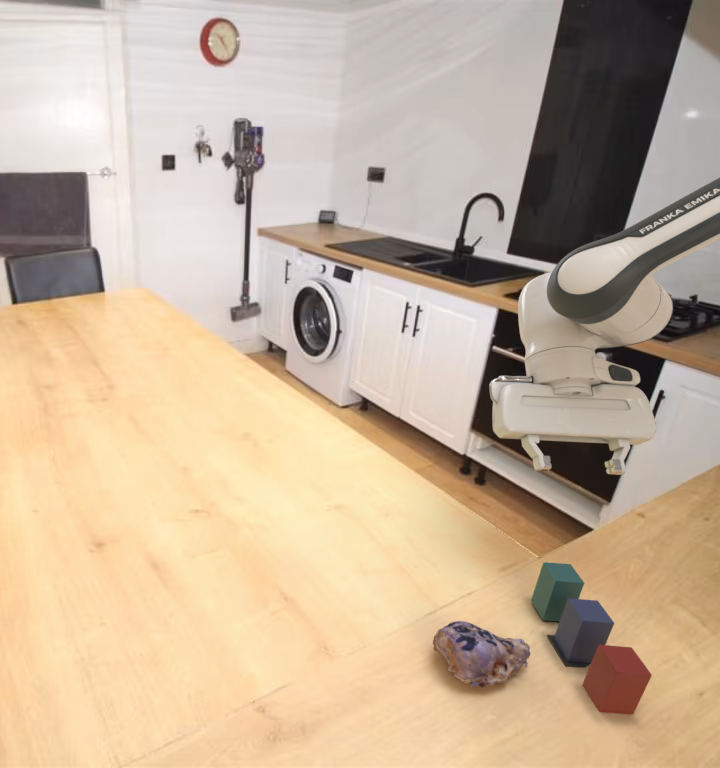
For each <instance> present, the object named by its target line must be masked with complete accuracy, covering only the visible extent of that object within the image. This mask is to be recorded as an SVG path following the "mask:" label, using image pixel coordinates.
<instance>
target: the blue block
mask: <svg viewBox="0 0 720 768" xmlns="http://www.w3.org/2000/svg"><path fill="white" fill-rule="evenodd" d="M614 625H615V622H614V621H613V619H612V617H611V616H610V615H609V614H608V612H607V611H606V610H605V608H604V607H603V605H602V604H601V602H600V601H598V600H597V599H596V600H595V599H581V598H579V599H571V598H568V600H567V603H566V606H565V608H564V611H563V614H562V617H561V619H560V621H558V625H557V628H556V632H555V634H554V635H555V636H554V640H555V641H556V643H557V645H558V647H559V648H560V650H561V652H562V653H563V655H564V657H565V658H566V660H567V662H576V663H588V664H590V665H591V662H592V660H593V657H594V655H595V652H596V650H597V648H598V645H607V642H608V640H609V637H610V635H611V632H612V630H613V628H614Z"/></svg>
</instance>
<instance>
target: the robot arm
mask: <svg viewBox="0 0 720 768" xmlns="http://www.w3.org/2000/svg"><path fill="white" fill-rule="evenodd" d="M718 240H720V177H717V178H716V179H714V180H712V181H710V182H709V183H707V184H705V185H703V186H701V187H699V188H698V189H696V190H694V191H693V192H690V193H689V194H687V195H685V196H683V197H682V198H680V199H678V200H676V201H675V202H672V203H671V204H669V205H667V206H665V207H663V208H662V209H660V210H658V211H657V212H654V213H653V214H650V215H649V216H647V217H645V218H643V219H642V220H640V221H638V222H636V223H635V224H633V225H631V226H629V227H627V228H625V229H623V230H621V231H619V232H617V233H615V234H612V235H609V236H607V237H604V238H601V239H597V240H595V241H594V240H593V241H592V242H588V243H586V244H583V245H581V246H579V247H577V248H575V249H573V250H572V251H571V252H568V253H567V254H566V255H565V256H564V257H562V259H561V260H560V261H558V263H557V264H556V265H555V266H554V268H553V270H552V271H549V272H546V273H542V274H541V275H538V276H536V277H534V278H533V279H531V280H530V281H528V282H527V283H526V284H525V285H524V286H523V288H522V289H521V292H520V294H519V297H518V300H517V301H518V302H517V316H518V319H517V320H518V328H519V335H520V340H521V342H522V344H523V346H524V349H525V356H524V366H525V367H524V368H525V374H526V375H514V376H513V375H508V374H507V375H499V376H498V377H495V378H494V379H492V380H491V381H490V382H489V386H488V387H489V388H488V389H489V396H490V399H491V401H492V410H491V411H492V415H491V416H492V417H491V420H492V422H491V423H492V431H493V433H494V434H495V435H496V437H498V438H499V439H508V440H520V441H521V447H522V448H523V450H524V451H525V452H526V453H527V454H528V456H529V457H530V458H531V459H532V463H533V469H534V471H537V472H538V471H540V472H547V471H550V470H551V469H552V463H551V462H552V461H551V455H544V453H543V452H542V450H541V449H540V448H539V446H538V445H537V444H539V443H540V441H546V442H547V441H549V442H550V441H551V442H567V443H568V442H569V443H570V442H571V443H590V444H607V445H608V448H609V451H610V452H613V453H612V457H611V458H610V459H609V460H607V461H604V467H605V468H606V469H605V472H606V474H607V475H615V476H620V475H623V474H626V471H627V469H626V464H625V460H626V458H627V455H628V453H629V452H630V449H631V445H633V446H638V445H641V444H642V445H643V444H644V443H647V442H649V441H651V440H653V439H654V437H655V436H656V434H657V424H656V419H655V416H654V412H653V410H652V405H651V404H650V401H649V399H648V397H647V395H646V394H645V393H644V391H643V390H641V388H639V387H636V386H637V385H638V384H640V383H641V376H640V373H639V371H638V370H636V369H633V368H631V367H628V366H624V365H620V364H617V363H615V362H611V361H608V360H606V359H603V358H601V357H597V355H596V350H597V349H598V350H599V349H614V348H621V347H627V346H634V345H639V344H643V343H645V342H647V341H650V340H651V339H653V338H655V337H656V336H658V335H659V334H660V333H661V332H663V331H664V330H665V329H666V327H667V326H668V325H669V323H670V321H671V319H672V317H673V313H674V302H673V299H672V297H671V294H669V292H668V291H667V290H666V289H665V288H664V286H662V285H661V284H660V282H658V281H657V280H656V279H655V278H654V277H653V275H654V274H655V273H657V272H658V271H660V270H662V269H663V268H665V267H668V266H670V265H672V264H673V263H675V262H677V261H679V260H681V259H684V258H685V257H687V256H689V255H691V254H693V253H696V252H697V251H699V250H701V249H703V248H705V247H707V246H709V245H711V244H713V243H714V242H716V241H718Z"/></svg>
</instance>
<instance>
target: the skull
mask: <svg viewBox="0 0 720 768" xmlns="http://www.w3.org/2000/svg"><path fill="white" fill-rule="evenodd" d="M432 645H433V651H434V652H436V653H438V655H440V656H441V657H442V658H444V659H445V660H446V662H447V664H448V666H447V671H448V672H451V673H453V677H455V678H456V679H457V680H458V681H460V682H461V683H462V684H465V685H469V686H470V687H472V688H474V687H478V688H485V687H486V686H494V685H495V684H498V683H501V684H502V683H507V682H508V679H509V678H511V677H512V676H513V675H514V674H518V672H519V671H520V669H521V667H522V665H524V668H525V669H526V668H528V665H529V663H528V660H529V659H530V657H531V651H530V648H531V646H530V645H529V643H527V642H525V639H523V638H511V637H507V638H505V637H501V636H498V635H495V634H494V633H493V632H492V631H490V630H487V629H483V628H482V627H480V626H479V625H475V624H474V623H471V622H468V621H463V620H457V621H451V622H450V623H448V624H447V625H444V626H443V627H441V628H439V629H438V630H437V631H436V633H435V634H434V636H433V640H432Z"/></svg>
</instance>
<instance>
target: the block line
mask: <svg viewBox="0 0 720 768" xmlns="http://www.w3.org/2000/svg"><path fill="white" fill-rule="evenodd" d="M537 577H538V578H537V581H536V584H535V587H534V590H533V594H532V596H531V598H530V600H531V601H530V602H531V603H532V604H533V606H534V608H535V610H536V611H537V613H538V615H539V616H540V618H541V620H542V621H547V622H548V621H550V622H560V619H561V617H562V614H563V611H564V608H565V606H566V603H567V600H568V598H571V599H580V596H581V594H582V591H583V589H584V585H585V582H584V580H583V579H582V577H581V576H580V575H579V574H578V572H577V571H576V569H575V567H574V566H573V565H572V564H571V563H563V562H562V563H559V562H547V561H543V563H542V565H541V568H540V572H539V574H538V576H537ZM546 636H547V638H548V640H549V642H550V643H551V645H552V647H553V649H554V650H555V652H556V654H557V656H558V657H559V659H560V661H561V662H562V664H563V665H564V667H565V668H583V669H584V668H587V667H588V666H589V668H588V669H587V672H586V675H585V678H584V679H583V682H582V684H581V687H583V690H585V692H586V694H587V695H588V697H589V698H590V700H591V702H592V703H593V705H594V706H595V708H596V709H597V711H598V713H602V714H603V713H606V714H619V715H634V714H635V712H636V710H637V708H638V705H639V703H640V701H641V700H642V697H643V696H644V693H645V691H646V688H647V687H648V684H649V682H650V680H651V678H652V677H653V675H652V673H651V672H650V671H649V668H648V667H647V666H646V665H645V663H644V662H643V660H642V659H641V658H640V657H639V655H638V654H637V652H636V651H635V650H634V648H633V647H630V646H622V645H621V646H619V645H608V644H606V645H598V648H597V650H596V652H595V655H594V657H593V660H592V662H591V664H588V663H576V662H567V660H566V658H565V657H564V655H563V653H562V652H561V650H560V648H559V647H558V645H557V643H556V641H555V640H554V636H555V634H546Z"/></svg>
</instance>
